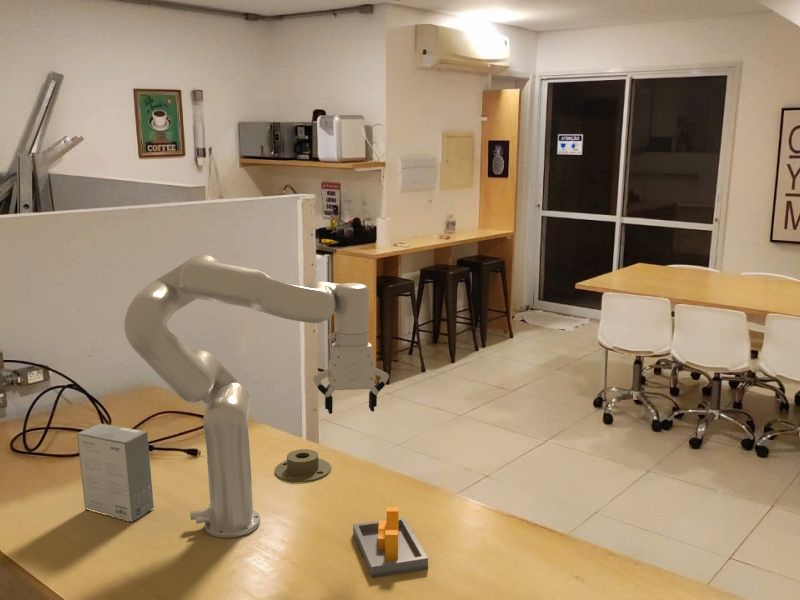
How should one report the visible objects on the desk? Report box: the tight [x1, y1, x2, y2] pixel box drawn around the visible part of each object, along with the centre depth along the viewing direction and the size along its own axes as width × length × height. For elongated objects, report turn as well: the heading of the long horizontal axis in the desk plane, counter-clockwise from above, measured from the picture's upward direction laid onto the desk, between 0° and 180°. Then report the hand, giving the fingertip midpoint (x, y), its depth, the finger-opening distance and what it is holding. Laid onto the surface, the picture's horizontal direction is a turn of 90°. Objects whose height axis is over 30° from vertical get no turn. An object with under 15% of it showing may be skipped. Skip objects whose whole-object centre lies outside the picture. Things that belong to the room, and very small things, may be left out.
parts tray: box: [352, 516, 429, 579], centre depth 162 cm, size 12×18×2 cm, turn 15°
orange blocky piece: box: [378, 506, 399, 562], centre depth 162 cm, size 12×4×6 cm, turn 179°
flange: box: [274, 448, 332, 483], centre depth 202 cm, size 5×15×15 cm
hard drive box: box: [76, 423, 155, 523], centre depth 179 cm, size 16×8×20 cm, turn 65°
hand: (350, 410), depth 172 cm, fingers open, 9 cm apart
